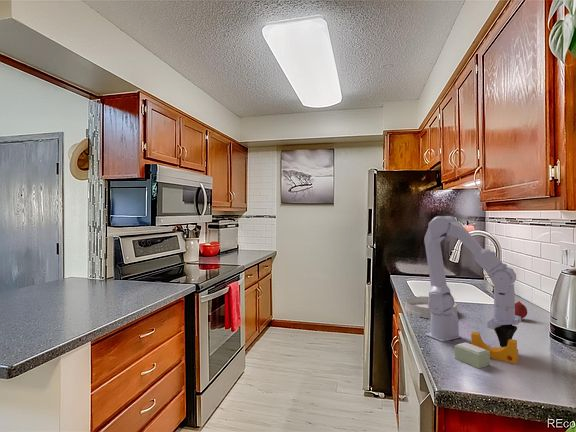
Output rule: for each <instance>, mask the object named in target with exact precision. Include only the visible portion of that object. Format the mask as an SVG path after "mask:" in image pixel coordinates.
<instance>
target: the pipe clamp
mask: <svg viewBox="0 0 576 432" xmlns="http://www.w3.org/2000/svg"><path fill="white" fill-rule="evenodd" d="M470 337H471V338H470V340H471V343H470V344H472V345H475V346H477V347H480V348H483V349H486V350H487V351H489V352H490V359H494V360H498V361H502V362H507V363H511V364H514V365H516V364H517V362H518V361H517V360H519V349H518V340H517V339H513V338H512V339H509V340H508V344H507V346H506V347H497V346H493V347H490V346H489V345H487V344H486V343H485V341H483V339H482V337H481V333H480V332H477V331H472V333H471V335H470Z"/></svg>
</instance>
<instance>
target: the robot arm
mask: <svg viewBox="0 0 576 432" xmlns="http://www.w3.org/2000/svg"><path fill="white" fill-rule="evenodd" d="M427 227H428V228H427V230H426V233H425V235H424V241H423V242H424V247H425V254H426V261H427V266H428V274H429V280H430V289H429V291H428V297H429V300H428V307H429V309H430V310H431V319H430V332H426V333H424V334H425V336H428V337H430V338H432V339H435V340H437V341H440V342H448V341H451V340H452V341H453V340H455V339H460V338H462V336H461V335H460V334H459V333H460V330H459V329H460V327H459V325H460V323H459V317H458V314H457V315H456V313H454V312H453V311H451V308H452V307H453V306H454V302H455V298H454V296H453V295H452V293H451V289H450V287H449V286H448V284H447V279H446V278H447V277H446V273H445V272H446V271H445V265H444V260H443V259H444V258H443V253H442V247H441V242H442V241H443V240H444V239H445V238H446V237H447V236H449V237H453V238H457V240H458V241H460V242H461V243H462V244H463V245H464V246H465V247H466V248H467V249H468V250H469V251H470V252H472V253H473V255H474V261H475V262H476V263H477V264H478V265H479V266H480V267H481V268H482V269H483V270H484V271H485V272H486V273H487V275H489V276H491V277H490V279H491V282H492V284H493V285H494V287H493V289H494V290H493V313H494V314H493V317H492V319H490V320H489V321H488V320H487V322H486V323H487V324H486V326H487V328H488V329H490V330H491V329H492V330H494V332H495V334H496V336H497V339H498V344H499V346H500V347H499V348H501V347H506V346H507V344H508V340H509V339H512V340H513V337H514V335H515V333H516V331H517V330H518V326H517V325H519V324H521V323H522V319H521V317H520V316H516V315H515V303H516V296H515V294H516V293H515V282H516V280H517V274H516V272H515V270H514V269H513V268H511V267H508V264H507V263H503V262H502V260H501V259H499V258H498V256H496V255H497V252H495V251H493V250H490V249H489V248H483V246H481V244H480V243H479V242H478V241H477V240H476V239H475V238H474V236H472V235H471V233H470V232H469V231H468V230H467V229H466V228H465V227H464V226H463V224H462V223H461V222H460V221H457V219H456V218H455V217H454V216H452V215H444V216H442V215H437V216H435V217H433V218H432V219H431V220H430V221H429V222H428V225H427Z"/></svg>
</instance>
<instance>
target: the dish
mask: <svg viewBox="0 0 576 432" xmlns="http://www.w3.org/2000/svg"><path fill="white" fill-rule="evenodd" d="M428 300H429V296H411V297H407V298H406V299H405V305H404V312H405V311H406V312H408V313H410V314H412V315H415V316H419V317H423V318H422V319H424V318H428V319H427V320H431V310H430V309H429V307H428ZM451 311H453V312H454V313H456V315H457V316H458V304H457V302H455V301H454V306H453V307H452V308H451ZM406 312H405V313H406ZM412 315H411V316H412ZM419 317H418V318H419Z"/></svg>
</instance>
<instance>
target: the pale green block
mask: <svg viewBox="0 0 576 432" xmlns="http://www.w3.org/2000/svg"><path fill="white" fill-rule="evenodd" d="M454 359H456V360H457V361H460V362H463V363H465V364H467V365H470V366H471V367H474V368H476V369H482V368H485V367H489V366H491V365H490V364H491V363H490V362H491V358H490V352H489V351H487V350H486V349H483V348H480V347H477V346H475V345H472V344H471V343H469V342H462V343H458V344H456V345H454Z"/></svg>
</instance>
